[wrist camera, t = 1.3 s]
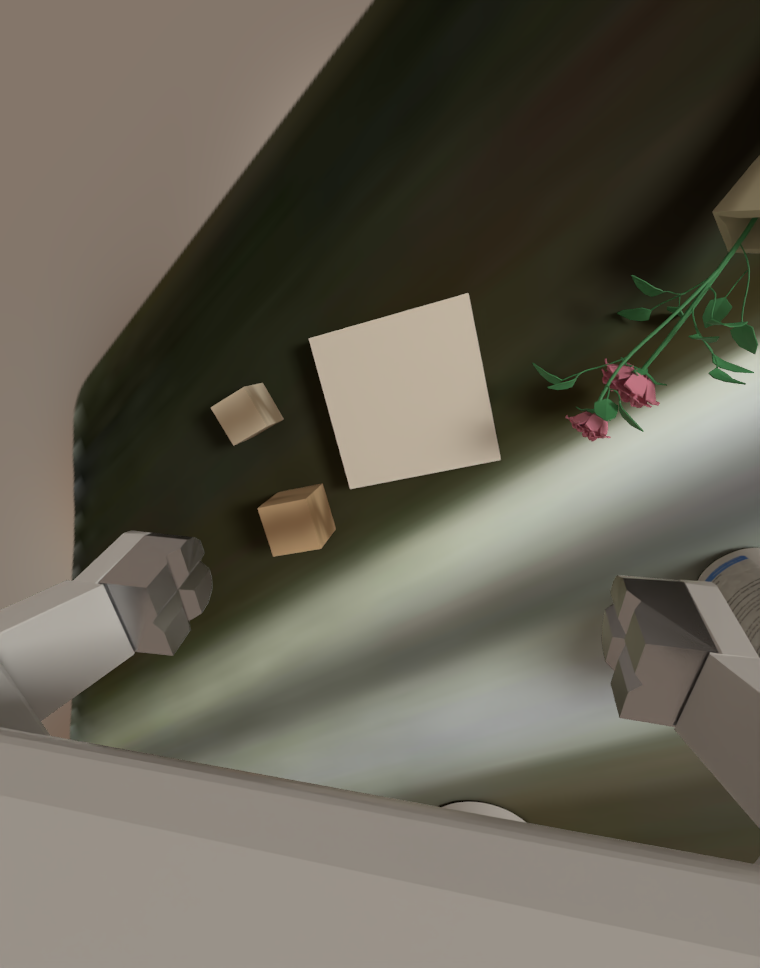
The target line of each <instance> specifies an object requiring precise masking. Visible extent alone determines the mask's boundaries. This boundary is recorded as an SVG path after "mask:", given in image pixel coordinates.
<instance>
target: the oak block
mask: <svg viewBox="0 0 760 968" xmlns="http://www.w3.org/2000/svg"><path fill="white" fill-rule="evenodd" d="M257 509H258V512H259V515H260V518H261V521H262V524H263V527H264V530H265V533H266V536H267V539H268V542H269V545H270V548H271V551H272V554H273V557H274V556H280V555H286V554H292V553H298V552H304V551H310V550H316V549H321V548H322V547H323V546H324V544H325V543H326V542H327V540H328V539H329V538H330V536H331V535H332V534H333V532H334V531H335V530H336V528H335V524H334V521H333V517H332V514H331V510H330V507H329V504H328V500H327V497H326V493H325V490H324V486H323V483H322V484H317V485H312V486H307V487H302V488H297V489H292V490H287V491H282V492H278V493H277V494H275V495H274V496H273V497H271V498H270V499H269V500H267V501H266V502H265V503H264V504H262V505H261V506H260V507H258V508H257Z"/></svg>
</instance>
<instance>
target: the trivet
mask: <svg viewBox="0 0 760 968" xmlns="http://www.w3.org/2000/svg"><path fill="white" fill-rule="evenodd" d="M309 342H310V346H311V349H312V353H313V356H314V360H315V364H316V367H317V371H318V375H319V378H320V382H321V385H322V389H323V393H324V396H325V400H326V404H327V407H328V411H329V415H330V418H331V422H332V425H333V429H334V433H335V436H336V440H337V444H338V447H339V451H340V454H341V458H342V462H343V465H344V469H345V473H346V476H347V480H348V484H349V487H350V489H354V488H359V487H364V486H369V485H374V484H379V483H385V482H390V481H395V480H400V479H405V478H410V477H416V476H421V475H426V474H431V473H436V472H441V471H447V470H452V469H457V468H462V467H467V466H472V465H477V464H483V463H488V462H493V461H498V460H501V457H500V452H499V447H498V441H497V436H496V431H495V426H494V421H493V416H492V411H491V405H490V400H489V395H488V390H487V385H486V380H485V375H484V369H483V364H482V359H481V354H480V349H479V344H478V339H477V334H476V328H475V323H474V318H473V313H472V308H471V303H470V298H469V293H467V294H463V295H460V296H456V297H453V298H449V299H446V300H442V301H439V302H435V303H432V304H428V305H425V306H421V307H418V308H414V309H411V310H407V311H404V312H400V313H397V314H393V315H389V316H386V317H382V318H379V319H375V320H372V321H368V322H365V323H361V324H358V325H354V326H351V327H347V328H344V329H340V330H337V331H333V332H330V333H326V334H323V335H319V336H316V337H312V338H309Z"/></svg>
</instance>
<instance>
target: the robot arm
mask: <svg viewBox="0 0 760 968" xmlns="http://www.w3.org/2000/svg"><path fill="white" fill-rule="evenodd" d="M203 555H204V550H203V547H202V544H201V541H200V540H198V539H196V538H194V537H187V536H178V535H169V534H160V533H148V532H139V531H129V532H126V533H123V534H122V535H121V536H120V537H119V538H118V539H117V540H116V541H115V542H114V543H113V544H112V545H111V546H109V547H108V548H107V549H106V550H105V551H104V552H103V553H102V554H101V555H100V556H99V557H98V558H97V559H96V560H95V561H94V562H92V563H91V564H90V565H89V566H88V567H87V568H86V569H85V570H84V571H83V572H82V573H81V574H80V575H79V576H78V577H77V578H75V579H74V580H73V581H69V580H66V581H63V582H61V583H59V584H57V585H54V586H52V587H50V588H48V589H46V590H43V591H41V592H39V593H37V594H34V595H32V596H30V597H27V598H25V599H23V600H21V601H19V602H16V603H14V604H12V605H10V606H7V607H5V608H3V609H1V610H0V968H760V857H759V858H758V860H757V861H756V862H755V863H754V864H750V863H745V862H739V861H734V860H728V859H723V858H717V857H712V856H706V855H701V854H695V853H690V852H684V851H679V850H673V849H668V848H662V847H657V846H651V845H646V844H640V843H635V842H629V841H624V840H618V839H613V838H607V837H602V836H596V835H591V834H585V833H580V832H574V831H569V830H563V829H558V828H552V827H547V826H541V825H536V824H530V823H526V822H525V821H523V820H522V819H521V818H519V817H518V816H516V815H515V814H513V813H511V812H509V811H507V810H505V809H503V808H500V807H498V806H494V805H491V804H487V803H481V802H458V803H453V804H449V805H446V806H444V807H437V806H431V805H426V804H420V803H415V802H409V801H404V800H398V799H393V798H388V797H382V796H377V795H371V794H366V793H360V792H355V791H349V790H344V789H338V788H333V787H327V786H322V785H317V784H311V783H306V782H300V781H295V780H289V779H284V778H278V777H273V776H267V775H262V774H256V773H251V772H245V771H240V770H234V769H229V768H223V767H218V766H213V765H207V764H202V763H196V762H191V761H185V760H180V759H174V758H169V757H163V756H158V755H152V754H147V753H141V752H136V751H130V750H125V749H119V748H114V747H108V746H103V745H97V744H92V743H86V742H81V741H75V740H70V739H64V738H59V737H53V736H50V734H49V733H48V731H47V730H46V728H45V727H44V726H43V724H42V723H41V721H42V720H43V719H44V718H46V717H47V716H49V715H50V714H51V713H53V712H54V711H56V710H57V709H58V708H60V707H61V706H63V705H64V704H65V703H67V702H68V701H70V700H71V699H72V698H74V697H75V696H77V695H78V694H79V693H81V692H82V691H83V690H85V689H86V688H88V687H89V686H90V685H92V684H93V683H95V682H96V681H97V680H99V679H100V678H102V677H103V676H104V675H106V674H107V673H108V672H110V671H111V670H113V669H114V668H115V667H117V666H118V665H120V664H121V663H122V662H124V661H125V660H127V659H128V658H129V657H131V656H132V655H134V651H135V652H144V653H153V654H162V655H172V656H173V655H174V654H175V652H176V651H177V649H178V648H179V646H180V645H181V643H182V642H183V640H184V639H185V637H186V636H187V634H188V633H189V631H190V630H191V629H190V622H189V621H190V620H191V619H193V618H195V617H196V616H198V615H200V614H201V613H202V612H203V610H204V609H205V607H206V606H207V604H208V602H209V599H210V595H211V592H212V577H211V573H210V569H209V568H208V567H206V566H205V565H204V564H203V563H202V562H201V561H200V560H201V558H202V557H203ZM610 593H611V596H612V599H613V603H614V604H612V605H611V606H610V607H608V608H607V609H605V613H604V617H603V621H602V634H601V640H602V649H603V654H604V658H605V662H606V663H607V664H608V665H609V666H610V667H611V668H612V669H613V670H614V674H613V677H612V681H611V686H612V690H613V694H614V698H615V702H616V706H617V710H618V714H619V718H624V719H630V720H636V721H642V722H648V723H654V724H660V725H666V726H672V727H675V729H674V730H675V731H676V732H677V733H678V734H679V735H680V737H681V738H682V739H683V740H684V741H685V742H686V744H687V745H688V746H689V747H690V748H691V749H692V751H693V752H694V753H695V754H696V755H697V756H698V758H699V759H700V760H701V761H702V762H703V763H704V764H705V766H706V767H707V768H708V769H709V770H710V771H711V773H712V774H713V775H714V776H715V777H716V778H717V780H718V781H719V782H720V783H721V784H722V785H723V787H724V788H725V789H726V790H727V791H728V792H729V794H730V795H731V796H732V797H733V798H734V799H735V800H736V802H737V803H738V804H739V805H740V806H741V807H742V809H743V810H744V811H745V812H746V813H747V814H748V816H749V817H750V818H751V819H752V820H753V821H754V823H755V824H756V825H757V826H758V827H759V828H760V658H759V656H758V655H757V653H756V651H755V650H754V648H753V646H752V644H751V643H750V641H749V639H748V638H747V636H746V634H745V633H744V631H743V629H742V627H741V626H740V624H739V622H738V621H737V619H736V617H735V615H734V614H733V612H732V610H731V609H730V607H729V605H728V604H727V602H726V600H725V598H724V597H723V595H722V593H721V592H720V590H719V588H718V586H717V585H715V584H714V583H712V582H707V581H693V580H671V579H659V578H647V577H635V576H623V575H617V576H616V578H615V579H614V581H613V584H612V587H611V591H610Z"/></svg>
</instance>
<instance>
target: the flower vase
mask: <svg viewBox="0 0 760 968" xmlns="http://www.w3.org/2000/svg"><path fill="white" fill-rule="evenodd" d="M712 212H713V215H714V217H715V220H716V222H717V225H718V227H719V230H720V232H721V235H722V237H723V240H724V242H725V245H726V247H727V250H728V254H727V255H726V257H725V258H724V259H723V261H722V262H721V264H720V265H719V266H718V268H717V269H716V270H715V271H714V272H713V273H712V274H711V276H710V277H709V278H707V279H706V280H704V281H703V282H701V283H700V284H702V283H703V284H702V285H701V286H700V287H699V288H698V289H697V290H696V291H695V292H694V293H693V294H692V295H691V296H690V297H689V298H688V299H687V300H686V301H685V302H684V303H683V304H682V305H681V306H680V296H681V295H683V294H686V293H687V292H689V291H690V290H692V289H694V288H696V287H697V286H699V285H700V284H698V285H697V286H695V287H693V288H692V289H690V290H688V291H686V292H684V293H682V294H681V293H680V294H678V296H676V297H679V306H680V307H679V306H678V307H667V310H668V311H670V312H672V313H673V314H672V315H671V316H670V317H669V318H667V319H666V320H665V321H664V322H663V323H662V324H661V325H660V326H659V327H658V328H657V329H655V330H654V331H653V332H652V333H651V334H650V335H649V336H647V337H646V338H645V339H644V340H643V341H642V342H641V343H640V344H639V345H638V346H636V347H635V348H634V349H633V350H632V351H631V352H630V353H629V354H628V355H627V357H625V358H622V357H621V359H620V360H618V361H621V360H622V362H621V363H620V364H619V365H615V364H612V363H615V362H618V361H615V362H612V363H607V359H605V365H603V366H606V365H607V366H608V367H607V368H606V369H607V370H608V372H605V371H604V370H603V369H602V372H603V375H604V376H603V378H602V380H603V384H606V386H605V387H604V389H603V391H602V393H601V395H600V397H599V399H598V401H597V402H595V405H594V409H580V408H578V407H576V408H578V409H579V410H581V411H585V412H584V413H581V414H578V415H576V416H574V417H570V418H568V415H566V418H567V419H570V420H569V421H570V422H571V423H572V426H573V429H574V428H576V429H577V431H579V432H583V433H582V435H583V437H588V439H589V440H592V441H594V440H596V439H597V438H605V437H607V438H610V437H609V436H606V434H607V430H608V422H607V421H608V420H609V421H611V419H613V418H615V417H616V414H617V412H618V405H616V404H615V403H613V402H612V401H611V400H609V399H608V397H609V393H610V391H615V392H616V393H617V394H618V396H619V411H620V413H621V415H622V417H623V418H624V419H625V420H626V421H627V422H628V423H629V424H630V425H631V426H633V427H635V428H637V429H639V430H641V431H642V432H643V430H642V429H641V428H640V427H639V425H638V424H637V423H636V422H635V421H634V420H633V419H632V418H631V417H630V416H629V415H628V413H627V412H626V411H625V410H624V409H623V407H622V405H621V400H622V401H623V402H630V404H631V406H633V407H636V408H641V407H642V406H643V405H644V406H647V407H650V408H651V407H652V406H650V405H649V404H647V402H649V403H650V404H652V405H659V404H660V403H659V402H657V401H655V400H656V397H655V384H657V385H667V384H662V383H657V382H656V381H655V380H654V379H653V378H652V376H651V375H649V374H648V369H646V368H647V367H648V366H649V365H650V364H651V363H652V361H653V360H654V359H655V358H656V357H657V355H658V354H659V353H660V352H661V351H662V350H663V348H664V347H665V346H666V345H667V344H668V342H669V341H670V340H671V339H672V337H673V336H674V335H675V333H676V332H677V331H678V329H679V328H680V327H681V326H682V324H683V323H684V322H685V320H686V319H687V318H688V316H689V315H690V314H691V313H692V316H693V321H694V325H695V329H696V332H697V334H695V335H691V336H689V337H690V338H692V339H701V340H702V341H703V342H704V343H705V345H706V346H707V347H708V349H709V350H710V352H711V353H712V361H713V363H714V364H715V365H716V368H715V369H714V370H712V371H711V372H709V373H708V374H710V375H711V376H712V377H713V378H715V379H718V380H721V381H724V382H730V383H738V384H746V383H743V382H740V381H737V380H735V379H732V378H731V377H730V376H729V375H728V374H726V373H725V372H723V371H721V370H720V369H718V367H720V368H722V369H726V370H730V371H733V372H743V373H754V372H752V371H750V370H747V369H745V368H742V367H740V366H737V365H734V364H731V363H729V362H726V361H724V360H722V359H721V358H719V357H717V356H716V355H714V353H713V350H712V349H711V347H710V346H709V345H708V344H707V343H706V342H709V343H711V342H716V341H717V340H718V338H719V337H702V336H701V334H700V332H699V330H698V328H697V326H696V323H695V319H694V308H695V307H696V306H697V304H698V303H699V301H700V300H701V299H702V297H703V296H704V295H705V293H706V292H707V290H708V289H711V290H712V291H713V292H714V295H715V299H713V300H710V302H709V304H708V305H707V307H706V309H705V312H704V314H703V321H704V325H705V328H706V327H709V326H712V325H725V326H728V327H734V328H733V329H731V330H730V331H731V335H732V338H733V339H734V340H735V341H736V343H737V344H738V345H739V346H740V347H742V348H744V349H746V350H748V351H750V352H751V353H753V354H755V353H756V349H757V346H758V343H757V339H756V336H755V333H754V329H753V327H751V326H749V325H747V324H746V323H748V322H743V311H744V305H745V300H746V295H747V291H748V286H749V278H750V269H749V262H748V259H747V256H746V253H760V155H759V156H758V157H757V158H756V160H755V161H754V162H753V163H752V164H751V166H750V167H749V168H748V169H747V171H746V172H745V173H744V174H743V175H742V177H741V178H740V179H739V180H738V181H737V183H736V184H735V185H734V186H733V187H732V189H731V190H730V191H729V192H728V193H727V195H726V196H725V197H724V198H723V199H722V201H721V202H720V203H719V204H718V205H717V207H716V208H715V209H714V210H713V211H712ZM734 253H744V255H745V257H746V261H747V265H748V270H747V271H748V283H747V289H746V294H745V298H744V303H743V308H742V316H741V322H739V323H728V324H723V323H721V322H720V321H721V320H722V319H723V318H724V317H725V316H726V315H727V314H728V313H729V311H730V310H731V308H732V306H731V305H730V303H729V302H728V300H727V299H726V297H727V296H728V294H729V293H730V292H731V290H732V289H733V288H734V286H735V285H736V284H737V282H738V281H739V280H740V279H741V278H742V276H743V275H744V274H745V273H746V272H747V271H746V272H745V273H744V274H743V275H742V276H741V277H740V279H739V280H738V281H737V282H736V283H735V285H734V286H733V287H732V289H731V290H730V292H729V293H728V294H727V296H726V297H724V298H719V299H716V293H715V291H714V290H713V289H712V288H710V286H711V285H712V284H713V282H714V281H715V279H716V278H717V277H718V275H719V274H720V272H721V271H722V270H723V268H724V267H725V266H726V264H727V263H728V261H729V260H730V259H731V257H732V256H733V254H734ZM631 276H632V278H633V280H634V282H635V284H636V287H637V288H639V289H640V290H641V291H642V292H643V293H644V294H646V295H649V296H651V297H652V296H656V295H659V294H662V293H663V292H670V291H662V290H661V289H658V288H655V287H654V286H652V285H650V284H649V283H647V282H646V281H644V280H642V279H640V278H638V277H636V276H634V275H631ZM699 292H700V293H699ZM670 293H673V292H670ZM698 293H699V294H698ZM674 294H677V293H674ZM697 294H698V296H697V297H696V298H695V300H694V301H693V303H692V304H691V305H690V307H689V308H688V310H687V311H686V312H685V314H683V313H682V311H681V310H682V309H683V308H684V307H685V306H686V305H687V304H688V303H689V302H690V301H691V300H692V299H693V298H694V297H695V296H696V295H697ZM676 297H674V298H676ZM674 298H672V299H674ZM672 299H669V300H667V301H670V300H672ZM667 301H665V302H667ZM665 302H663V303H665ZM663 303H661V304H663ZM661 304H659V305H661ZM659 305H657V306H659ZM657 306H655V307H654V308H656V307H657ZM654 308H653V309H654ZM653 309H651V310H649V309H645V308H637V309H628V310H622V311H620V312H617V314H619V315H621V316H623V317H625V318H627V319H629V320H636V321H645V320H649V317H650V314H651V311H652V310H653ZM675 315H679V316H680V317H681V319H680V320H679V321H678V323H677V324H676V325H675V327H674V328H673V329H672V331H671V332H670V333H669V335H668V336H667V337H666V339H665V340H664V341H663V342H662V344H661V345H660V346H659V347H658V349H657V350H656V351H655V352H654V354H653V355H652V356H651V357H650V358H649V360H648V361H647V362H646V363H645V365H644V366H643V367H642V368H641V369H640V368H637V367H635V366H634V365H633V366H632V365H631V364H629V363H626V362H627V360H628V359H629V358H630V357H631V356H632V355H633V354H634V353H635V352H636V351H637V350H638V349H639V348H640V347H641V346H642V345H643V344H645V343H646V342H647V341H648V340H649V339H650V338H651V337H652V336H654V335H655V334H656V333H657V332H658V331H659V330H660V329H661V328H662V327H664V326H665V325H666V324H667V323H668V322H669V321H670V320H671V319H672V318H673V317H674V316H675ZM705 341H706V342H705ZM532 364H533V365H534V366H535V368H536V369H537V370H538V372H539V373H540V375H542V376H543V377H544V378H545V379H546V380H547V381H549V382H550V383H553V384H555V385H552V386H549V387H547V388H550V389H555V390H562V389H568V388H570V387H572V386H573V385H574V383H575V381H576V380H577V377H578V376H579V375H580V374H581V373H583V372H586V371H589V370H593V369H596V368H599V367H603V366H599V367H596V368H591V369H587V370H585V371H583V372H580V373H577V374H578V375H577V374H575V375H577V377H576V378H575V379H573V380H570V381H567V382H563V383H559V382H561V381H563V380H565V379H567V378H570V377H572V376H575V375H572V376H570V377H567V378H565V379H563V380H562V379H560V378H558V377H556V376H554V375H551V374H549V373H548V372H546V371H545V370H543V369H542V368H540V367H539V366H537V365H536V364H534V363H532ZM558 383H559V384H558ZM607 389H609V391H608V395H607V399H604V400H602V399H603V396H604V395H605V393H606V391H607ZM617 389H619V390H618V392H617V391H616V390H617ZM630 397H631V398H630Z"/></svg>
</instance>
